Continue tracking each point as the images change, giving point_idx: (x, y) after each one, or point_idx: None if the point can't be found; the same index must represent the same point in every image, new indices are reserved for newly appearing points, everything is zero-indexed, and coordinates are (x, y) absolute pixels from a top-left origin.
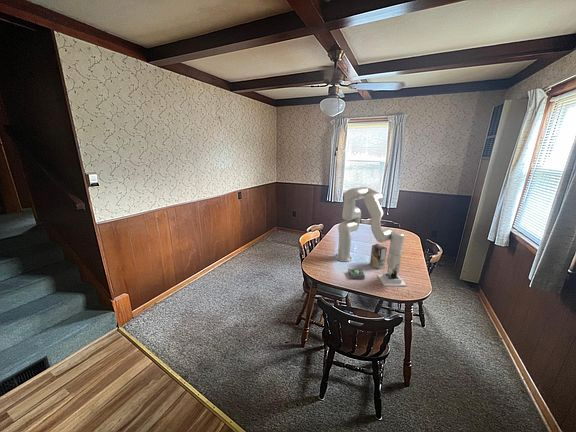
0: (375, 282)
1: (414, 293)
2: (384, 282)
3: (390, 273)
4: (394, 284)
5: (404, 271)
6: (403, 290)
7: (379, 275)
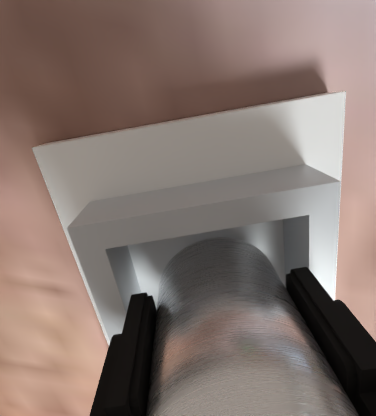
0: (115, 7)
1: (22, 402)
2: (97, 161)
3: (166, 346)
4: (87, 284)
5: None
6: (35, 336)
7: (319, 119)
